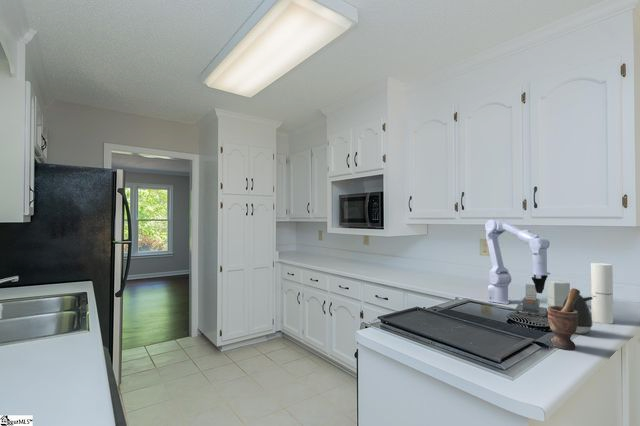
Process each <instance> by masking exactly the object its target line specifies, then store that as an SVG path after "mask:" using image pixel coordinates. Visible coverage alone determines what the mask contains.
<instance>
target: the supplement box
mask: <svg viewBox="0 0 640 426" xmlns="http://www.w3.org/2000/svg"><path fill="white" fill-rule="evenodd" d="M546 281H547V282H546V287H547V288H546V290H547V292H546V293H547V294H546V295H547V297H546V298H547V299H546V300H547V306H561V307H562V306H563V303H564V301H565V299H566V298H567V296H568V295H569V292H570V290H571V289H570V287H571V286H570V282H568V281H564V280H549V279H548V280H547V279H546Z"/></svg>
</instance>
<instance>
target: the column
mask: <svg viewBox="0 0 640 426" xmlns="http://www.w3.org/2000/svg"><path fill="white" fill-rule="evenodd" d="M537 294H538V293H537V292H536V289H535V284H530V283H526V284H525V297H526V298H525V300H531V301H536V300H537V299H538V298H537V296H538V295H537Z"/></svg>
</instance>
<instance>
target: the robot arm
mask: <svg viewBox="0 0 640 426" xmlns="http://www.w3.org/2000/svg"><path fill="white" fill-rule="evenodd" d="M484 227H485V228H484V229H485V238H486V243H487V248H488V252H489V257H490V262H491V267H492V268H491V269H490V270H489V272H488V273H489V277H488V278H489V279H488V280H489V282H490V284H488V286H487V302H489V303H498V304H504V305H509V303H510V302H511V300H509V285H510V283H511V282H512V276H511V274H510V273H509V269H508V268H507V267H505V265H504V262H503V257H502V253H501V252H502V251H501V247H500V244H499V243H500V242H499V236H501V235H502V234H503V233H505V232H508V233H511V234H512V235H515V236H516V237H517V238H518V240H519V241H521V242H522V243H524V244H526V245H528V246H529V247H530V249H531V252H532V255H531V256H532V262H531V263H532V272H531V274H533V276H532V277H531V280H532V282H533V285H535V289H536V294H543V291H544V289H545V285H546V281H547V279H548V275H549V276H550V275H551V272H548V252H547V251H548V248H549V247H550V244H551V243H550V240H549V239H548V238H547V237H545V236H542V237H540V236H539V234H534V233H533V232H531V230H529V229H523V230H522V229H520V228H518V227H516V226H515V225H514V224H511V223H510V222H509V221H507V220H505V219H497V220H496V219H488V221H486V223H485V225H484Z"/></svg>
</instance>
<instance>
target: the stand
mask: <svg viewBox="0 0 640 426" xmlns="http://www.w3.org/2000/svg"><path fill="white" fill-rule="evenodd" d="M525 298H526V296H524V297H523V298H522V304H520V303H519V304H517V305H516V306H515V309H514V312H515V311H522V312H528V313H534V314H539V315H544V316H546V317H547V315H548V307H542V306H541V307H540V298H537V300H536V301H531V300H525Z"/></svg>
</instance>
